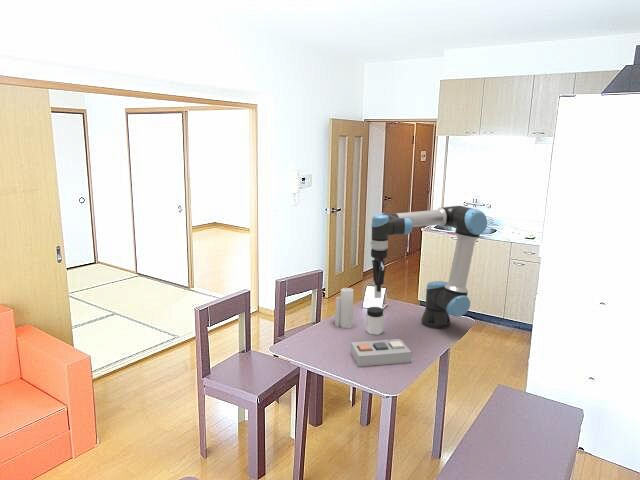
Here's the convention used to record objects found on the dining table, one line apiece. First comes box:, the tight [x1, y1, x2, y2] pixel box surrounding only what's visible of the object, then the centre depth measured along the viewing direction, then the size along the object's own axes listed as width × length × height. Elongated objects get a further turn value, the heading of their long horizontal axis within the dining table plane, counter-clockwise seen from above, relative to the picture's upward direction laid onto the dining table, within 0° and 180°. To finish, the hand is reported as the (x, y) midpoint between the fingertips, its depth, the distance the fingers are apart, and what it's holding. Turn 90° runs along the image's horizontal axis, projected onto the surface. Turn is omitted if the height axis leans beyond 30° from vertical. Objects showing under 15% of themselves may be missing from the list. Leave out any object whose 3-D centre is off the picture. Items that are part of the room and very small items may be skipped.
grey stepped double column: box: [334, 287, 354, 329], centre depth 249 cm, size 11×7×20 cm, turn 48°
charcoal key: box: [374, 342, 388, 350], centre depth 214 cm, size 5×5×3 cm
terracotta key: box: [358, 343, 372, 352], centre depth 212 cm, size 5×5×3 cm
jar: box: [365, 306, 385, 336], centre depth 242 cm, size 9×8×12 cm
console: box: [350, 338, 412, 368], centre depth 214 cm, size 24×14×5 cm, turn 101°
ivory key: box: [389, 341, 404, 349], centre depth 215 cm, size 5×5×3 cm
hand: (377, 297), depth 222 cm, fingers closed
